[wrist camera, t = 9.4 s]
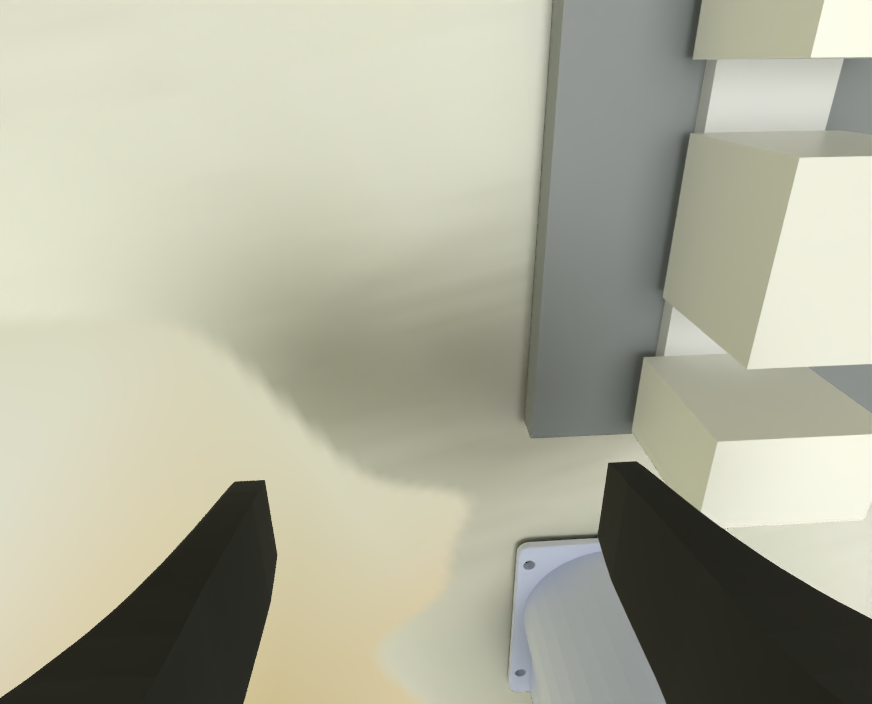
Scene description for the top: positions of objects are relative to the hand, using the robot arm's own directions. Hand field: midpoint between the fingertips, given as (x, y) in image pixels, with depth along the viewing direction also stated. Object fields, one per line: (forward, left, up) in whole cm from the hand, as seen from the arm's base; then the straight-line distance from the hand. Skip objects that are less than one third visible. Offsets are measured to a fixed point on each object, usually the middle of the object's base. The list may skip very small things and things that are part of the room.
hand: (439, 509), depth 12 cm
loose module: (+4, -10, -8) cm, 13 cm away
